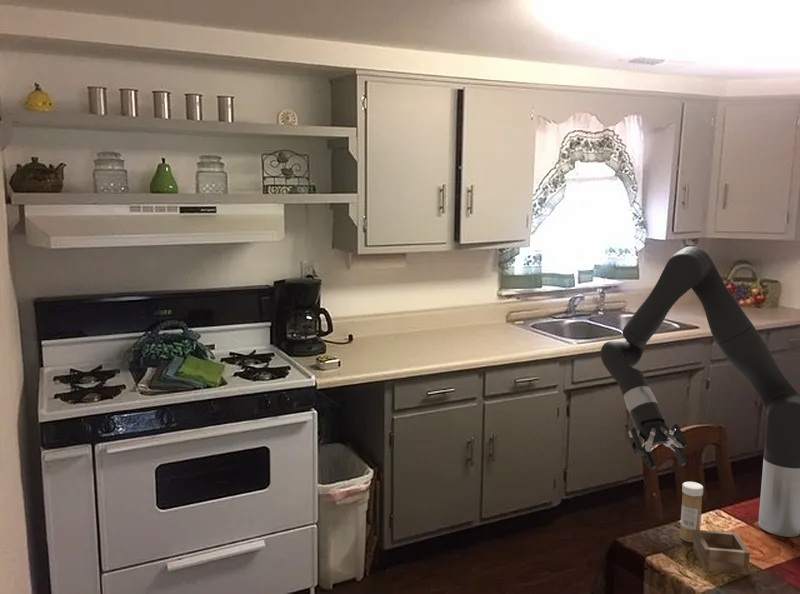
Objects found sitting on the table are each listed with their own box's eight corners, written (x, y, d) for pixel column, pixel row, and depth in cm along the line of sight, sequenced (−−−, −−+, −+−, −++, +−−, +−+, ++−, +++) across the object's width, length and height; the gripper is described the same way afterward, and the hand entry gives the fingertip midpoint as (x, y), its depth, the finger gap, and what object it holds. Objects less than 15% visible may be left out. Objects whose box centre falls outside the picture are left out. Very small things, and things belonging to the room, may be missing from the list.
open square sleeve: (734, 553, 154) (736, 532, 153) (748, 574, 145) (749, 553, 145) (693, 549, 156) (694, 529, 155) (703, 570, 147) (705, 549, 146)
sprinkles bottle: (703, 539, 160) (707, 486, 158) (692, 545, 158) (696, 490, 156) (686, 532, 164) (689, 479, 162) (675, 537, 162) (678, 483, 160)
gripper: (625, 403, 172) (651, 462, 163) (673, 398, 176) (701, 457, 166) (613, 416, 178) (636, 475, 168) (660, 412, 181) (685, 469, 172)
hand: (668, 466), depth 167 cm, fingers open, 8 cm apart
